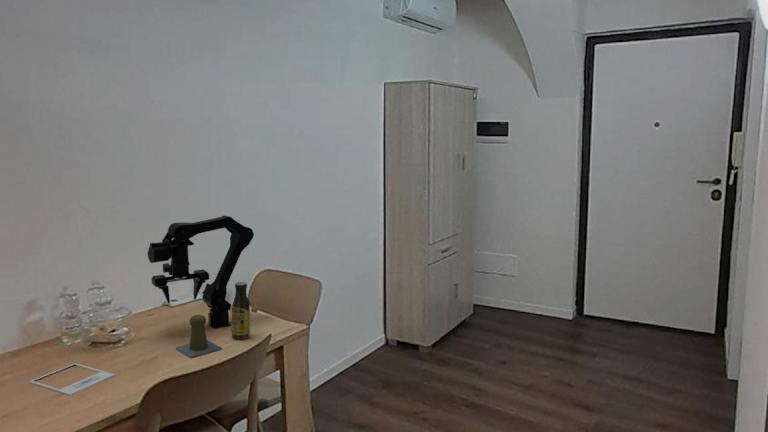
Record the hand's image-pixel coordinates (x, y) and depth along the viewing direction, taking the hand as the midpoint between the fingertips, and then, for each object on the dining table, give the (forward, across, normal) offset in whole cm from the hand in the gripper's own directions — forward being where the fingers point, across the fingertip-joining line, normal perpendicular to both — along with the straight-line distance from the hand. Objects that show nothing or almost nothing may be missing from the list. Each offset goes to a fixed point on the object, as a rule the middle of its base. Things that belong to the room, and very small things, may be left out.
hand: (181, 301), depth 208 cm
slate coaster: (+12, 0, +18) cm, 22 cm away
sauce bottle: (+12, -16, +15) cm, 25 cm away
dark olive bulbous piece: (+12, 0, +18) cm, 21 cm away
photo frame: (+13, +38, +21) cm, 45 cm away
